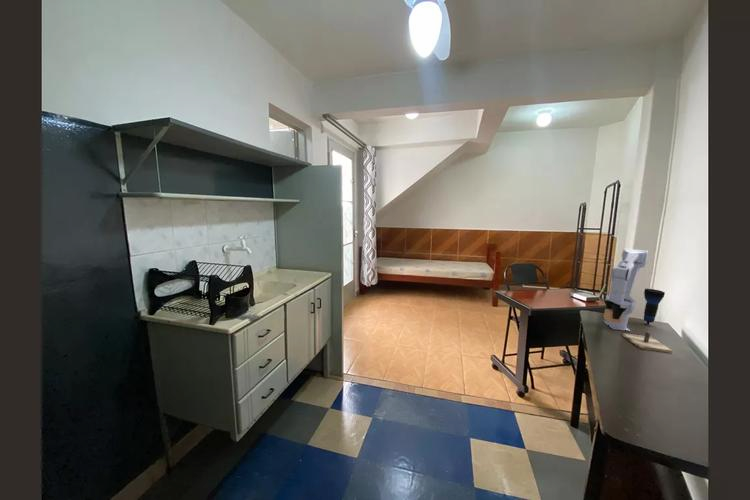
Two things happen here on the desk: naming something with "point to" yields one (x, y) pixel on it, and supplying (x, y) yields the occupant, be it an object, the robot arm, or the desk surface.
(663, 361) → the desk surface
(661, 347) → the post board
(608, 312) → the square collar
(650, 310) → the flashlight
